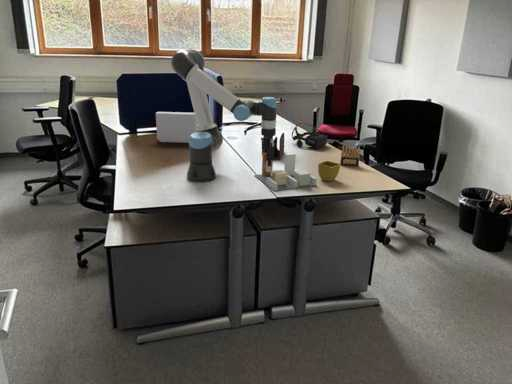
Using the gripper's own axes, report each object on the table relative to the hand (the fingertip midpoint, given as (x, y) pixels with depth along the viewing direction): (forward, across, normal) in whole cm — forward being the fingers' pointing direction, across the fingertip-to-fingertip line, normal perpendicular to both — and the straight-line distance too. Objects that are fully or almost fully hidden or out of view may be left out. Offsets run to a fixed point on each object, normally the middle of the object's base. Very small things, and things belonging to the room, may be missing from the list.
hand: (267, 170), depth 228 cm
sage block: (+2, -13, -11) cm, 17 cm away
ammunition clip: (+3, +2, -54) cm, 54 cm away
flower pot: (+3, -16, -28) cm, 33 cm away
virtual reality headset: (+3, +51, -54) cm, 74 cm away
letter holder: (+3, +35, -20) cm, 40 cm away
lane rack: (+3, -10, -6) cm, 12 cm away
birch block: (+2, -8, 0) cm, 8 cm away
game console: (+3, +88, +29) cm, 93 cm away
